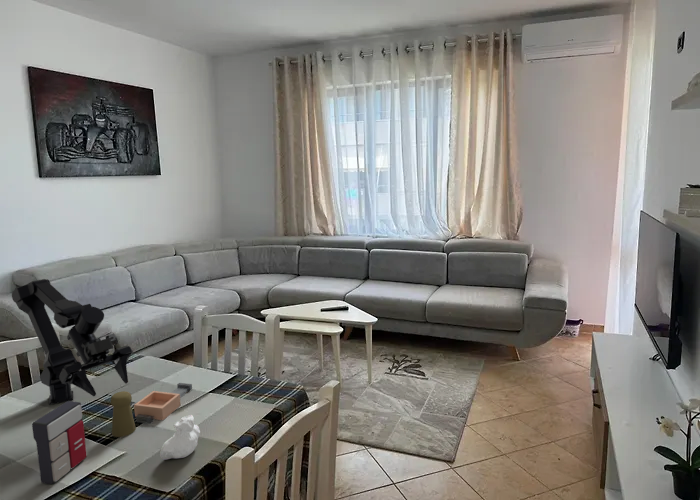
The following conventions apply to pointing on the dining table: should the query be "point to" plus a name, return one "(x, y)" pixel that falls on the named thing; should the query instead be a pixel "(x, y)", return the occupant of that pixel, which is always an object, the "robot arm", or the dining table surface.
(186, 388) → the rail
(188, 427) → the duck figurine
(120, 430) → the cork
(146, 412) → the tray
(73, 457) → the calculator
